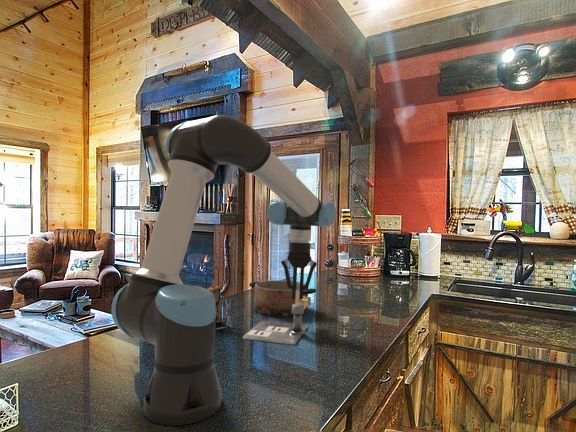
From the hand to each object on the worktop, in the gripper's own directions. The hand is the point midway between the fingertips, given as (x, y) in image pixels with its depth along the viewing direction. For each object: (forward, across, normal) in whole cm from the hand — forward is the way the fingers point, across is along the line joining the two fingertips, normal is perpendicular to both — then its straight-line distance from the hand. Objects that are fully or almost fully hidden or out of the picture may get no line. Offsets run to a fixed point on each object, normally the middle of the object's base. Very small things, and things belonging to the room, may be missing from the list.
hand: (297, 308), depth 128 cm
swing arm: (0, +2, -2) cm, 3 cm away
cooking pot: (+7, -7, +24) cm, 26 cm away
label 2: (+7, -6, -7) cm, 12 cm away
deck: (+7, -6, -7) cm, 12 cm away
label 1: (+7, -11, -12) cm, 18 cm away
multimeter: (+8, -26, -1) cm, 28 cm away
